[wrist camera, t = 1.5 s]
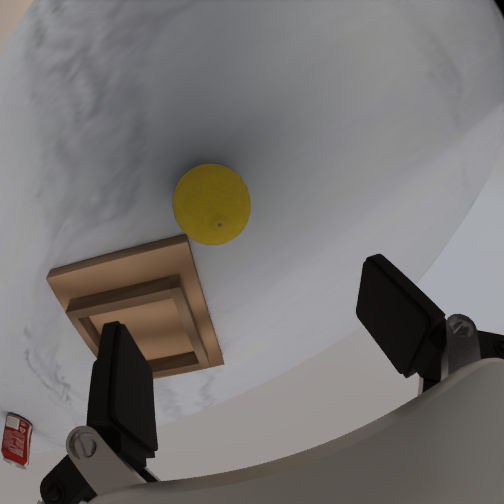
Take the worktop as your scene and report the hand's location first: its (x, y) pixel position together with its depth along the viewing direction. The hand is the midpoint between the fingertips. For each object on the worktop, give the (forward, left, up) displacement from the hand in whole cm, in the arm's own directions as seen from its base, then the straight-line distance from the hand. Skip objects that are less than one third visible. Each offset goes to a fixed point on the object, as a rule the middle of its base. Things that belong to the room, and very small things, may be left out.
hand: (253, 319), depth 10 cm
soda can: (+36, -53, -16) cm, 66 cm away
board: (+13, -10, -16) cm, 23 cm away
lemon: (0, 0, -16) cm, 16 cm away
